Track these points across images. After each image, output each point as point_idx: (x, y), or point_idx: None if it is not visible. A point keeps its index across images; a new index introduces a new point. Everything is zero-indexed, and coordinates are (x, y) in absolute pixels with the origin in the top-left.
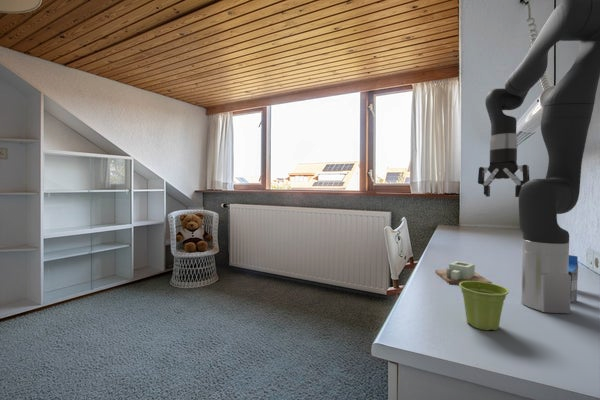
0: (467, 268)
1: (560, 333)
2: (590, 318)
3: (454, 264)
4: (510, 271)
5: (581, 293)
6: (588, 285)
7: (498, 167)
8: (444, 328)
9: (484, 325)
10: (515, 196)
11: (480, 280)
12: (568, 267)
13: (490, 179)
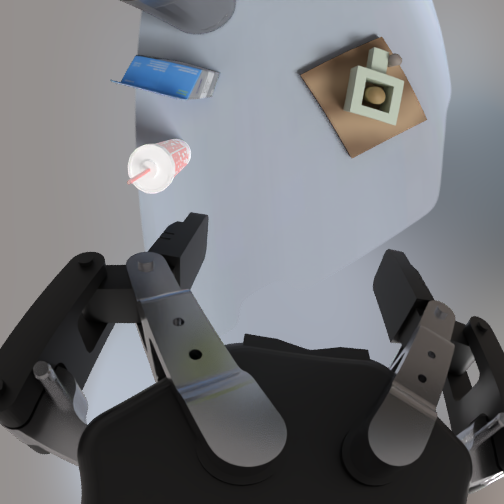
0: (358, 66)
1: None
2: None
3: (392, 81)
4: (275, 234)
5: (151, 139)
6: (147, 209)
7: (362, 498)
8: None
9: None
10: (206, 216)
11: (324, 75)
12: (138, 70)
13: (425, 329)
